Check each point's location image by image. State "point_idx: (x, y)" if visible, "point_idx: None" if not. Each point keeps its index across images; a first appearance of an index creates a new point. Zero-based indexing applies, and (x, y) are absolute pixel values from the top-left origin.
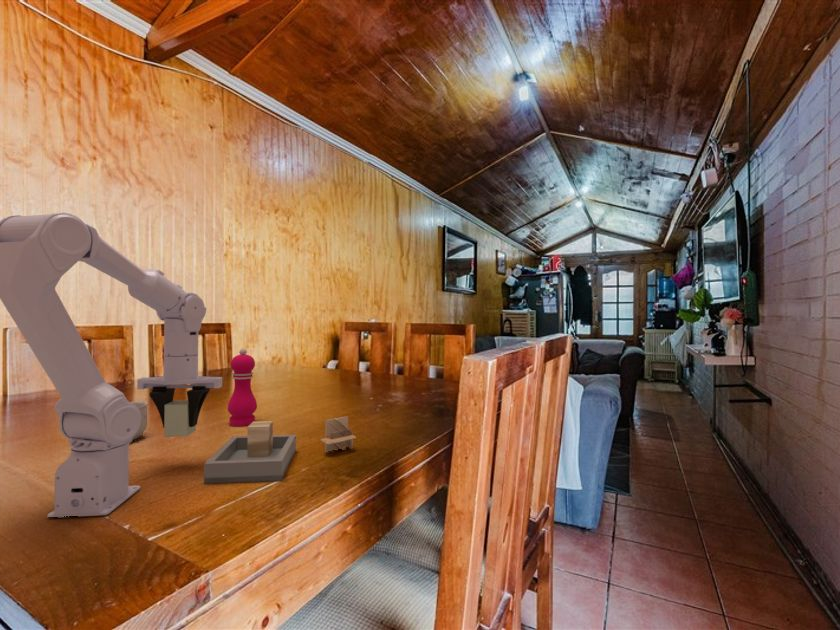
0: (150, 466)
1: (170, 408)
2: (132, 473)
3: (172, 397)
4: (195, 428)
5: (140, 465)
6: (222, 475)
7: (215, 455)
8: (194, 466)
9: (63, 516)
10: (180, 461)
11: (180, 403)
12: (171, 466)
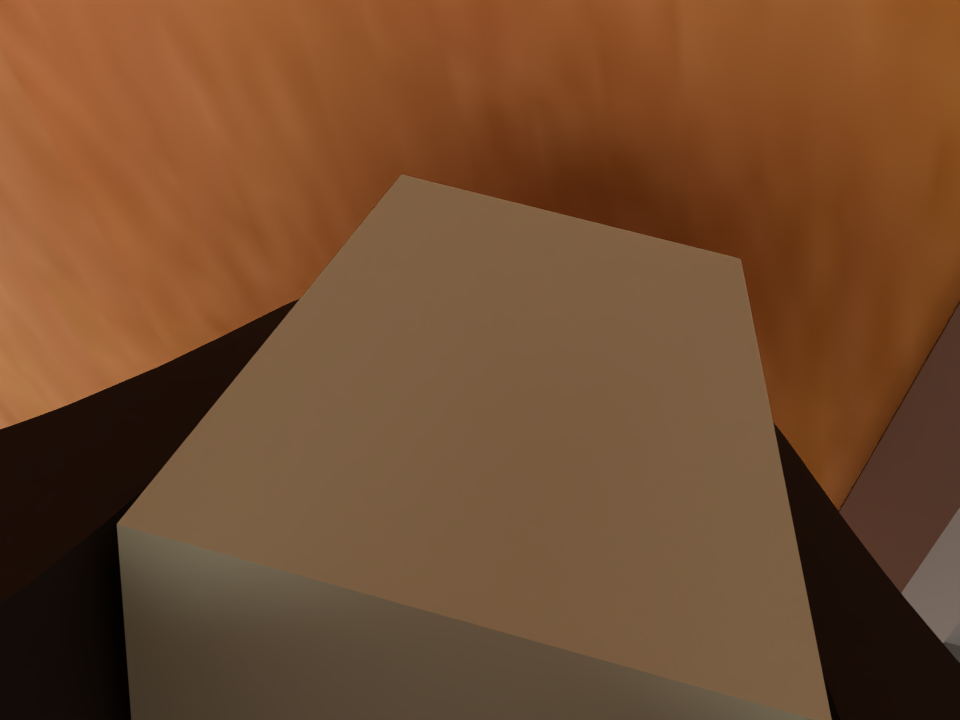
0: (301, 84)
1: None
2: (223, 223)
3: (16, 648)
4: (743, 276)
5: (195, 18)
6: None
7: (921, 610)
8: (710, 230)
9: None
10: (555, 16)
11: None
12: (495, 154)
